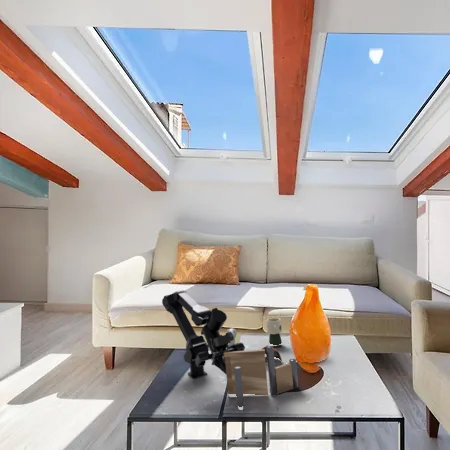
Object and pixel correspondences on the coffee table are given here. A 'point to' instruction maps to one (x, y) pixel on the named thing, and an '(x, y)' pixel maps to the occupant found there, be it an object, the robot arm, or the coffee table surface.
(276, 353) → the pottery mug
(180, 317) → the robot arm
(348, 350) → the coffee table surface
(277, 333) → the character mug
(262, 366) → the gate
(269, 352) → the gate frame
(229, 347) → the grey bust figurine
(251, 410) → the coffee table surface
